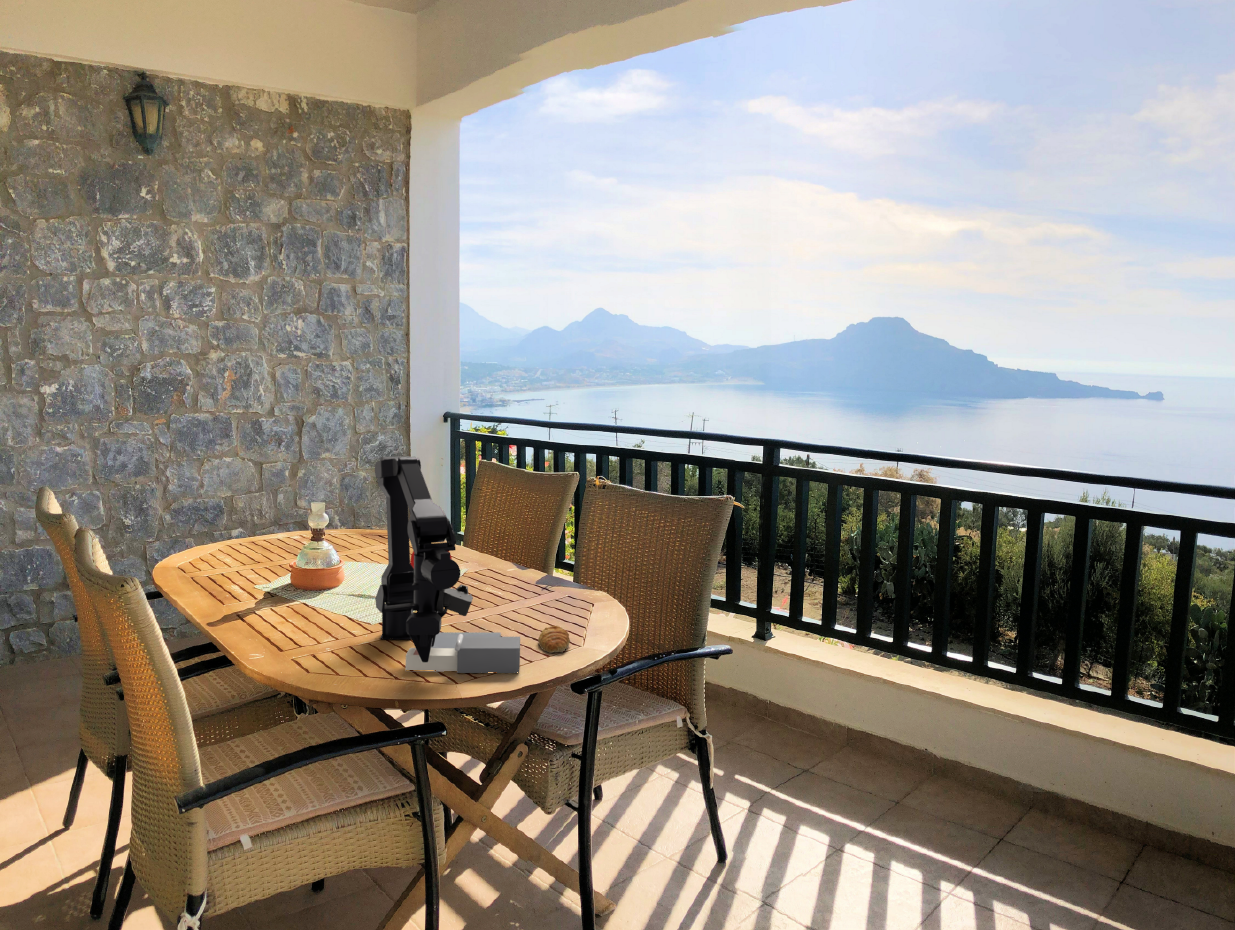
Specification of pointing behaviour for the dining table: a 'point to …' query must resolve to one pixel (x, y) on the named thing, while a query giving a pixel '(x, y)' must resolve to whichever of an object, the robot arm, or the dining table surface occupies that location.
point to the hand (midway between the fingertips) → (428, 654)
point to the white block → (433, 660)
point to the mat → (451, 638)
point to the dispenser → (488, 654)
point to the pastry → (554, 639)
